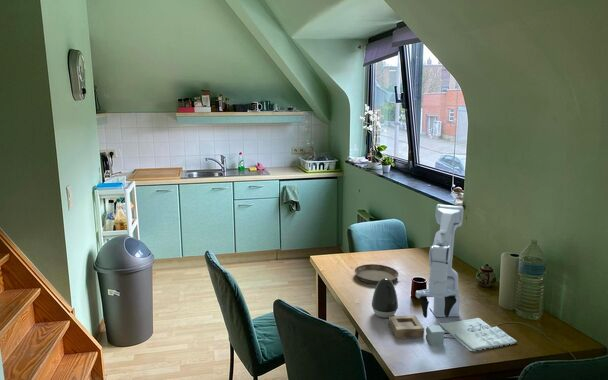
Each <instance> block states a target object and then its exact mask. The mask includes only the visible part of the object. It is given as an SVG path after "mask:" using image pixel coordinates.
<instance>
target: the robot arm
mask: <svg viewBox="0 0 608 380" xmlns="http://www.w3.org/2000/svg"><path fill="white" fill-rule="evenodd" d="M434 217H435V219H436V223H437V224H438V225H440V226H439V230H438V231H436V232H435V235H434V239H433V243H432V246H430V248H429V252H428V258H429V278H428V279H429V282H428V283H429V284H428V288H427V289H420V290H416V291H415V297H416V298H417V299H418V301H419V303H420V306H421V311H422V316H423V317H424V318H427V317H428V307H429V309H430V311H431V312H432V313H433V314H434V315H435V317H436V318H449V317H451V318H452V317H460V315H461V314H460V304H461V298H460V293H459V291H458V287H459V274H458V272H457V271H456V270H455V269H454V268H453V267H452V266H453V256H454V243H455V232H456V230H457V228H459V227H462V225H463V220H464V219H463V218H464V206H462V205H461V206H460V205H450V204H440V203H438V204H437V205H436V207H435V216H434ZM428 298H433V306H429V303H430V301H429V300H428Z"/></svg>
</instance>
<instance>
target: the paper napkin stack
mask: <svg viewBox="0 0 608 380" xmlns="http://www.w3.org/2000/svg"><path fill="white" fill-rule="evenodd" d="M438 325H440V327H441V328H442V329H443V330H444V331H446V332H447V333H449V335H451V336H452V337H453V338H454V339H455V340H456V341H458V342H459V343H460V344H461V345H462V346H463V347H464V346H465V347H464V348H465V349H466V350H467V351H468V352H470V351H473V352H477V351H476V350H479V351H483V350H482V349H484V350H487V349H486V348H489V349H493V347H494V348H499V346H500V347H503V345H505V346H509V344H510V345H514V344H516V343H517V340H516V339H515V338H513V337H512V336H510V335H509V334H507V332H505V331H504V330H502V329H501V328H499V327H498V325H496V326H492V325H489V324H488V323H486V321H483V320H482V318H479V317H475V318H471V319H463V320H458V321H450V322H439V324H438Z"/></svg>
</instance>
